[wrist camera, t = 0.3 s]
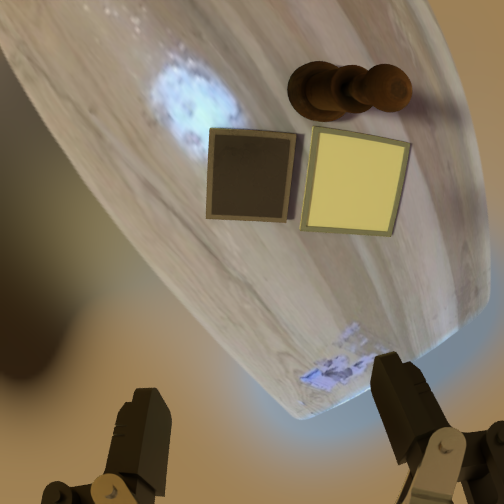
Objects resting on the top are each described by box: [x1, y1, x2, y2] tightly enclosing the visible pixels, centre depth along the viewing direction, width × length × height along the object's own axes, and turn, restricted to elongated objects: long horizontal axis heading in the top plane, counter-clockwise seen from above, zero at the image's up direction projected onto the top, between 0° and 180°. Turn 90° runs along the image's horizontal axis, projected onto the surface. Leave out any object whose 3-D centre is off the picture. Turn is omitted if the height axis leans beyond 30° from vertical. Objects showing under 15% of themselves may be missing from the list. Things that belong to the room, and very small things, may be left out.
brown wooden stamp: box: [287, 61, 412, 122], centre depth 22 cm, size 7×6×18 cm
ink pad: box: [206, 128, 296, 223], centre depth 34 cm, size 10×9×1 cm
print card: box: [300, 126, 410, 237], centre depth 35 cm, size 12×12×1 cm
